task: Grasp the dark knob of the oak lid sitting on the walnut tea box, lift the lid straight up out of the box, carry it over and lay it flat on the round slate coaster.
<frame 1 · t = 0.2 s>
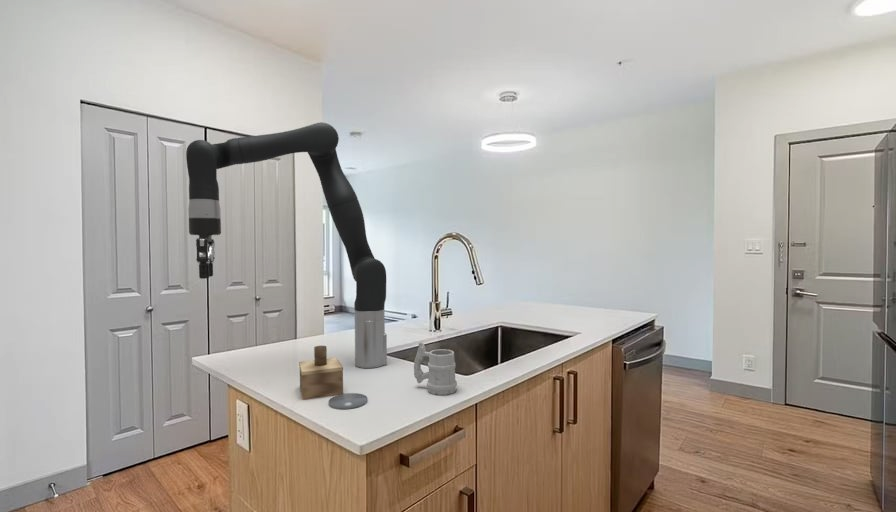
hand: (206, 277, 116), 29 cm above the worktop, fingers open, 8 cm apart
coaster: (348, 402, 102), on the worktop
mug: (434, 390, 110), on the worktop
tea box: (321, 390, 110), on the worktop
lid: (320, 367, 110), point 6 cm above the worktop, touching tea box
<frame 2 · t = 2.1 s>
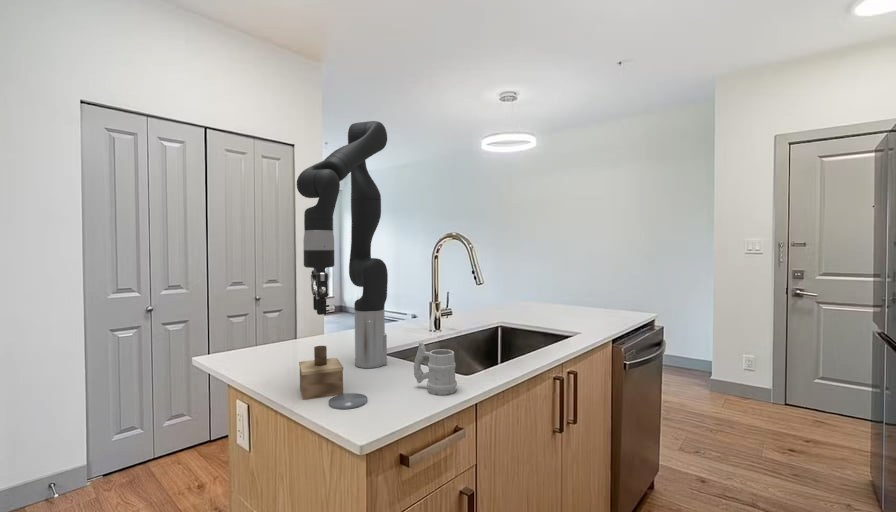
hand: (319, 312, 110), 20 cm above the worktop, fingers open, 8 cm apart
nothing on the worktop moved.
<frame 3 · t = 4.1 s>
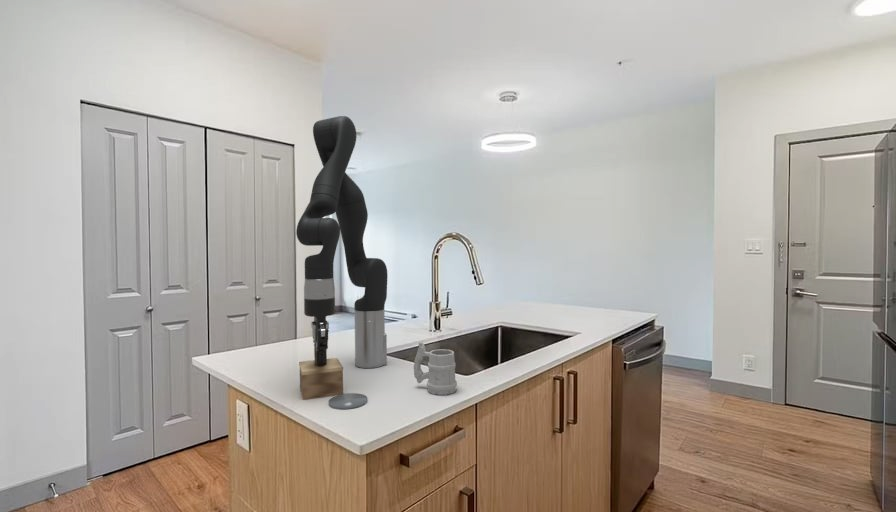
hand: (320, 363, 110), 7 cm above the worktop, fingers closed on lid, 3 cm apart
lid: (320, 367, 110), point 6 cm above the worktop, touching gripper, tea box
everything else where it was.
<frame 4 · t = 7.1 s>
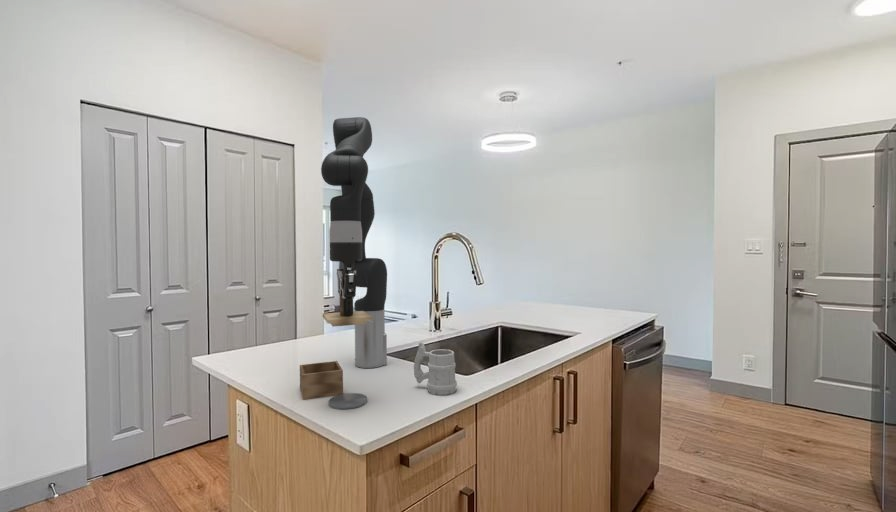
hand: (346, 313, 101), 21 cm above the worktop, fingers closed on lid, 3 cm apart
lid: (346, 318, 101), point 20 cm above the worktop, touching gripper
everything else where it was.
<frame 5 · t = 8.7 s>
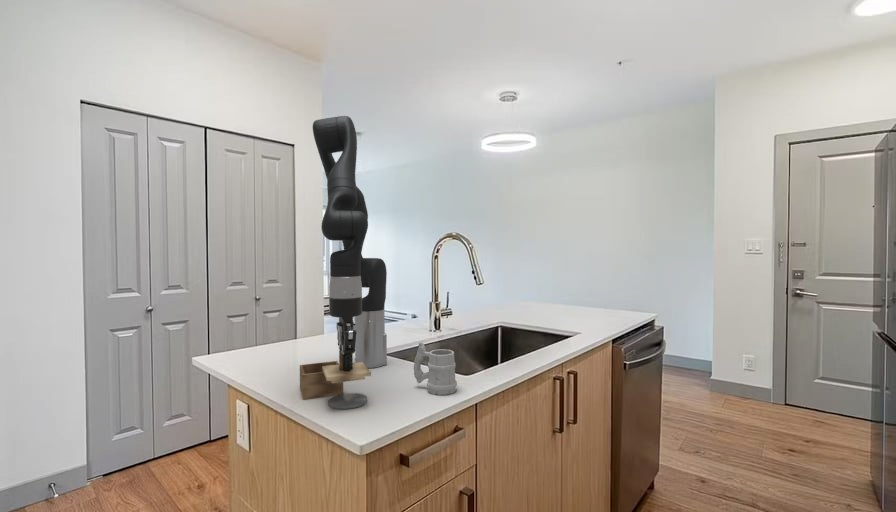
hand: (346, 367, 102), 8 cm above the worktop, fingers closed on lid, 3 cm apart
lid: (345, 372, 102), point 7 cm above the worktop, touching gripper
everything else where it was.
when the fingers open (4 cm above the worktop, at t = 10.2 s): lid drops 2 cm, resting on coaster.
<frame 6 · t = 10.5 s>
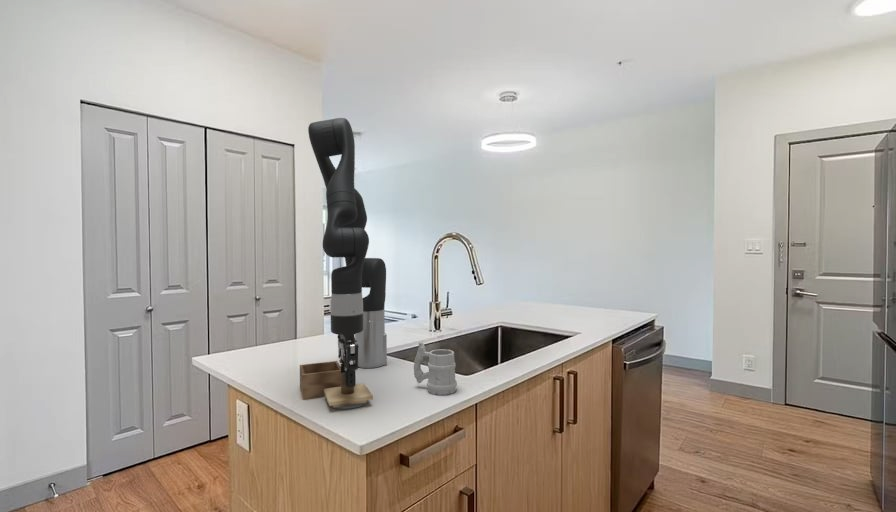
hand: (348, 382, 102), 5 cm above the worktop, fingers open, 6 cm apart
lid: (347, 395, 102), point 2 cm above the worktop, touching coaster
everything else where it was.
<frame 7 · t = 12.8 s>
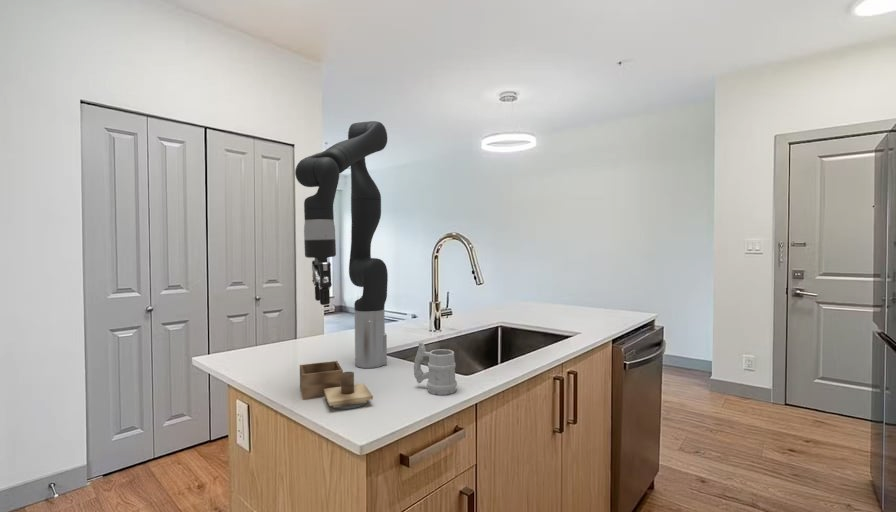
hand: (322, 302, 109), 23 cm above the worktop, fingers open, 8 cm apart
nothing on the worktop moved.
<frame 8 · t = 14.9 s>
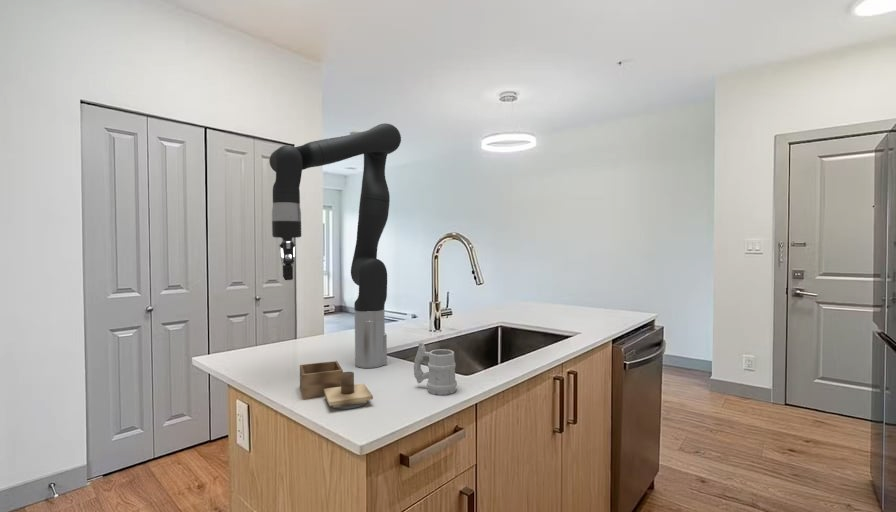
hand: (287, 278, 119), 28 cm above the worktop, fingers open, 8 cm apart
nothing on the worktop moved.
at the end: lid inside the target area on the coaster (0.1 cm from its centre), point 1.6 cm above the coaster's base; lid tilted 0°; the gripper is holding nothing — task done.
